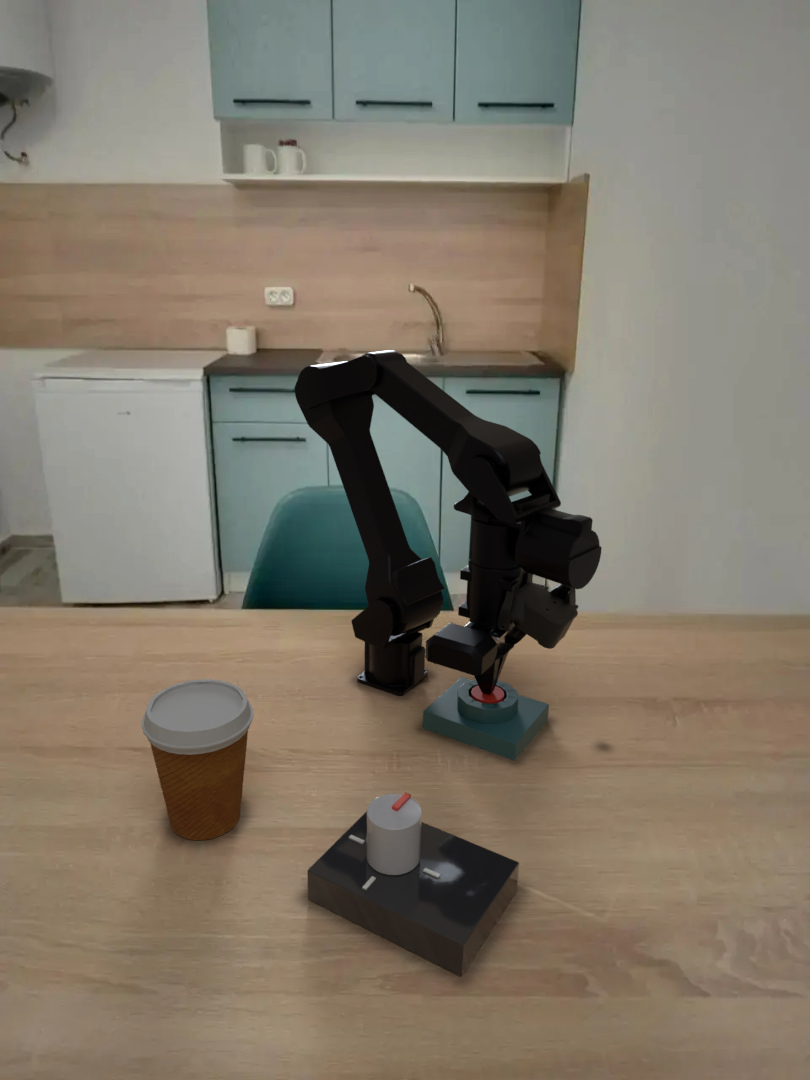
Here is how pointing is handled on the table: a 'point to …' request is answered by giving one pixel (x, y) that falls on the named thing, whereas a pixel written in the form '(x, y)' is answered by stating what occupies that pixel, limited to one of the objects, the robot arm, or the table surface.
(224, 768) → the disposable coffee cup
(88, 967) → the table surface
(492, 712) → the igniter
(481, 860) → the hob panel
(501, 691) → the button
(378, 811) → the hob knob
